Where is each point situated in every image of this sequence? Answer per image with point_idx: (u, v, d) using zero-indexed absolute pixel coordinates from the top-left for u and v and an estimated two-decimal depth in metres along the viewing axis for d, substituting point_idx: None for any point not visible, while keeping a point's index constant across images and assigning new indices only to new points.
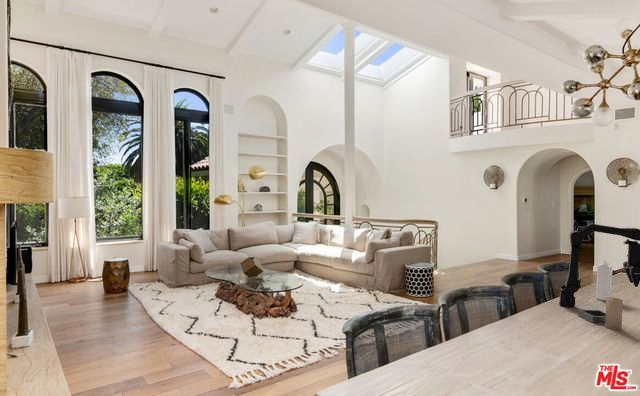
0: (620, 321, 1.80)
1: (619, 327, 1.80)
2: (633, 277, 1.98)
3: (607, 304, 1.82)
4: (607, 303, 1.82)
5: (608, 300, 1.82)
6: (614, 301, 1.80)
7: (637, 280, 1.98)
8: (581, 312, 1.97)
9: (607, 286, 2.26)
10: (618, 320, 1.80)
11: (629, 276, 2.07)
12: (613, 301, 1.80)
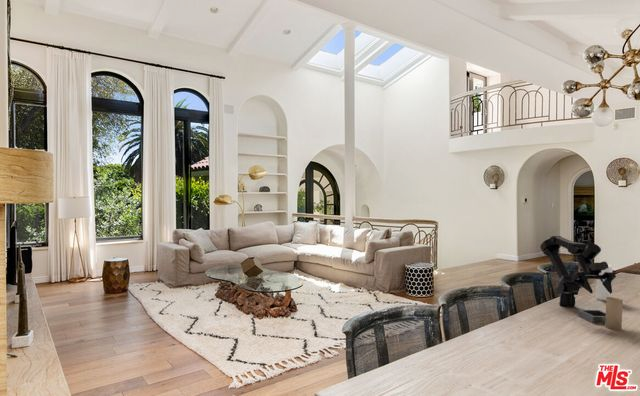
0: (620, 321, 1.80)
1: (619, 327, 1.80)
2: (582, 285, 1.94)
3: (607, 304, 1.82)
4: (607, 303, 1.82)
5: (608, 300, 1.82)
6: (614, 301, 1.80)
7: (586, 286, 1.92)
8: (581, 312, 1.97)
9: None
10: (618, 320, 1.80)
11: (606, 288, 1.93)
12: (613, 301, 1.80)
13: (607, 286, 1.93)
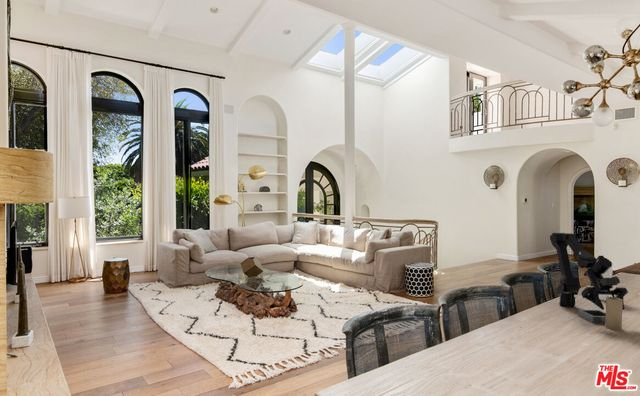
0: (620, 321, 1.80)
1: (619, 327, 1.80)
2: (593, 301, 1.87)
3: (607, 304, 1.82)
4: (607, 303, 1.82)
5: (608, 300, 1.82)
6: (614, 301, 1.80)
7: (597, 302, 1.85)
8: (581, 312, 1.97)
9: None
10: (618, 320, 1.80)
11: None
12: (613, 301, 1.80)
13: None
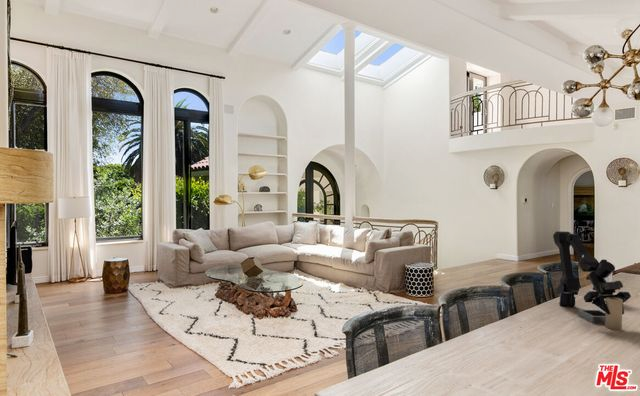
0: (620, 321, 1.80)
1: (619, 327, 1.80)
2: (598, 305, 1.85)
3: (607, 304, 1.82)
4: (607, 303, 1.82)
5: (608, 300, 1.82)
6: (614, 301, 1.80)
7: (603, 306, 1.83)
8: (581, 312, 1.97)
9: None
10: (618, 320, 1.80)
11: None
12: (613, 301, 1.80)
13: None
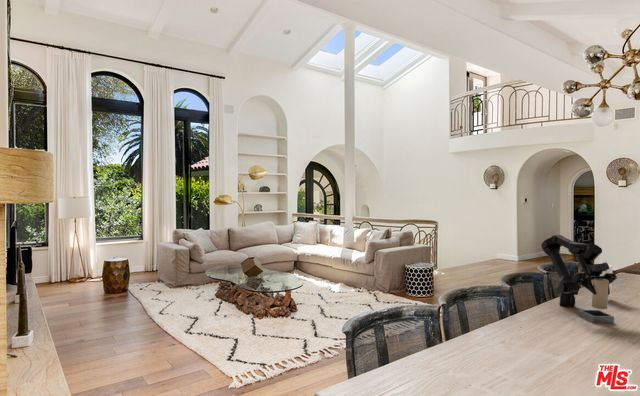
0: (606, 301, 1.89)
1: (605, 306, 1.89)
2: (586, 286, 1.94)
3: (594, 285, 1.91)
4: (594, 284, 1.91)
5: (595, 281, 1.90)
6: (600, 282, 1.88)
7: (590, 287, 1.92)
8: (581, 312, 1.97)
9: None
10: (604, 300, 1.88)
11: None
12: (599, 282, 1.89)
13: None
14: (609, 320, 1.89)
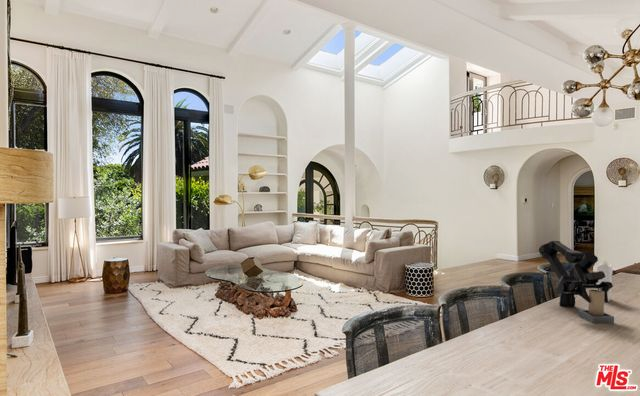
0: (602, 312, 1.91)
1: None
2: (580, 295, 1.96)
3: (590, 296, 1.93)
4: (590, 295, 1.94)
5: (591, 292, 1.93)
6: (596, 293, 1.91)
7: (584, 295, 1.94)
8: (581, 312, 1.97)
9: None
10: (600, 311, 1.91)
11: None
12: (595, 293, 1.91)
13: None
14: (609, 320, 1.89)
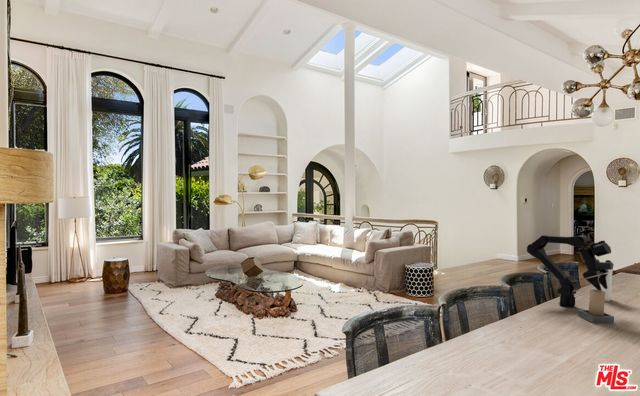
0: (602, 312, 1.91)
1: None
2: (591, 282, 2.00)
3: (590, 296, 1.93)
4: (590, 295, 1.93)
5: (591, 292, 1.93)
6: (597, 293, 1.91)
7: (596, 284, 1.99)
8: (581, 312, 1.97)
9: (607, 286, 2.26)
10: (600, 311, 1.91)
11: (601, 283, 2.06)
12: (596, 293, 1.91)
13: (603, 281, 2.06)
14: (609, 320, 1.89)
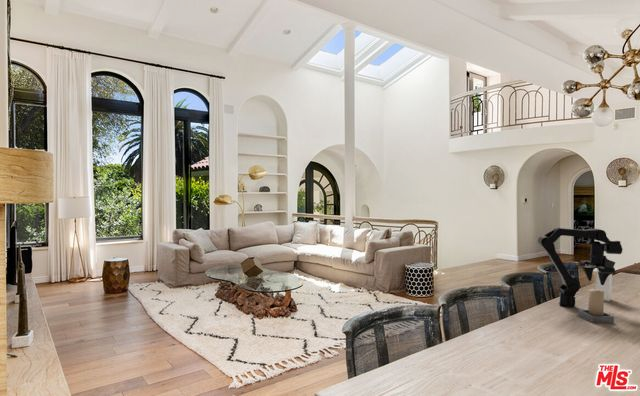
0: (602, 312, 1.91)
1: None
2: (602, 276, 2.06)
3: (589, 296, 1.94)
4: (589, 295, 1.94)
5: (590, 292, 1.93)
6: (596, 293, 1.91)
7: (604, 279, 2.07)
8: (581, 312, 1.97)
9: (607, 286, 2.26)
10: (600, 311, 1.91)
11: (588, 274, 2.17)
12: (595, 293, 1.91)
13: (590, 274, 2.17)
14: (609, 320, 1.89)
